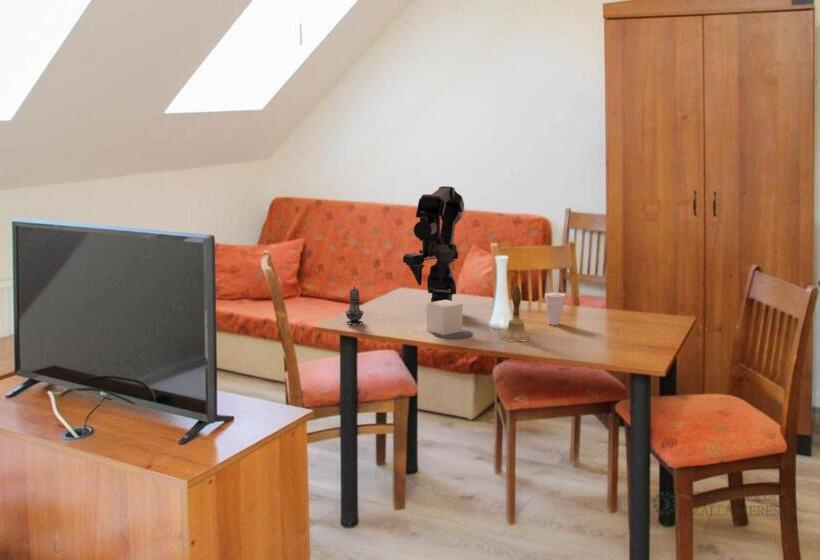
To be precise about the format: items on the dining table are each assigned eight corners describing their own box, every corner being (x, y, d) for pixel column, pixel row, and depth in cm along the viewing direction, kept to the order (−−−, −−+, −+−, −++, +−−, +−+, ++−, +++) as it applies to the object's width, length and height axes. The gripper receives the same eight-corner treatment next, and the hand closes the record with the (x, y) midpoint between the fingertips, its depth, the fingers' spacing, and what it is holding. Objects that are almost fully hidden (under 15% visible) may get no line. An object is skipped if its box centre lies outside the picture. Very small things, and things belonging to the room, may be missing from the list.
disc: (454, 327, 305) (454, 326, 305) (480, 334, 296) (480, 334, 296) (425, 332, 297) (425, 332, 297) (451, 341, 288) (451, 340, 288)
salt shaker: (361, 325, 305) (361, 288, 303) (343, 324, 306) (342, 287, 304) (365, 321, 311) (365, 284, 309) (347, 320, 312) (347, 283, 310)
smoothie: (566, 323, 311) (568, 280, 309) (560, 327, 306) (562, 283, 303) (547, 320, 314) (548, 278, 311) (541, 325, 308) (542, 281, 305)
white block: (445, 327, 305) (446, 299, 303) (462, 332, 299) (462, 304, 297) (426, 330, 300) (427, 302, 298) (443, 335, 294) (443, 307, 292)
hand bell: (503, 341, 288) (505, 289, 285) (500, 334, 296) (502, 283, 293) (531, 342, 288) (533, 289, 285) (528, 334, 297) (529, 283, 293)
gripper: (425, 241, 295) (424, 291, 298) (470, 235, 306) (469, 283, 310) (402, 236, 303) (401, 285, 306) (446, 230, 315) (446, 277, 318)
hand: (430, 283), depth 310 cm, fingers open, 9 cm apart
